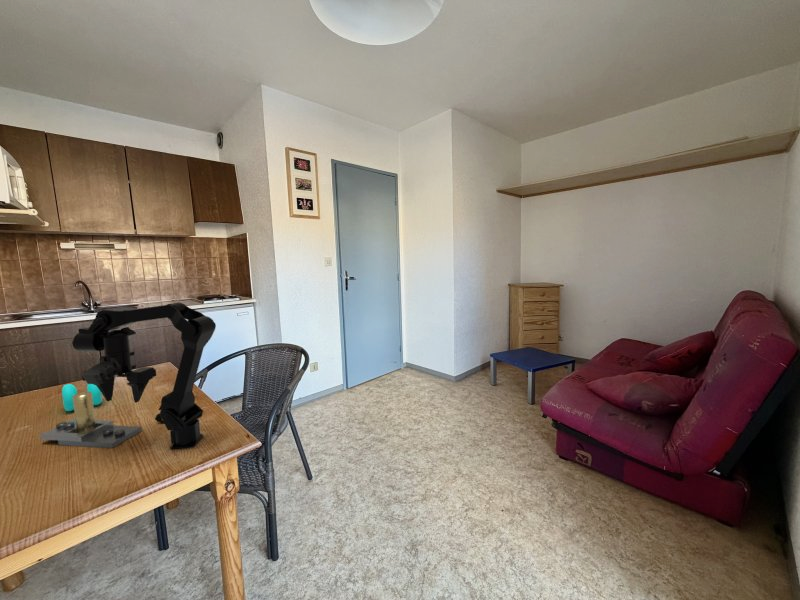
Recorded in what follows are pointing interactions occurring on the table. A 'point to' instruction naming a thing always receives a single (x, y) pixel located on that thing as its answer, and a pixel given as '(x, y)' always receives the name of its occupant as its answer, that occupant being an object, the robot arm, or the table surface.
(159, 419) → the tape measure
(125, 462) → the table surface
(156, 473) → the table surface
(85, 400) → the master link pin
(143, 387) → the robot arm
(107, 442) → the bolted metal plate
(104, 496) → the table surface
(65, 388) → the donuts
